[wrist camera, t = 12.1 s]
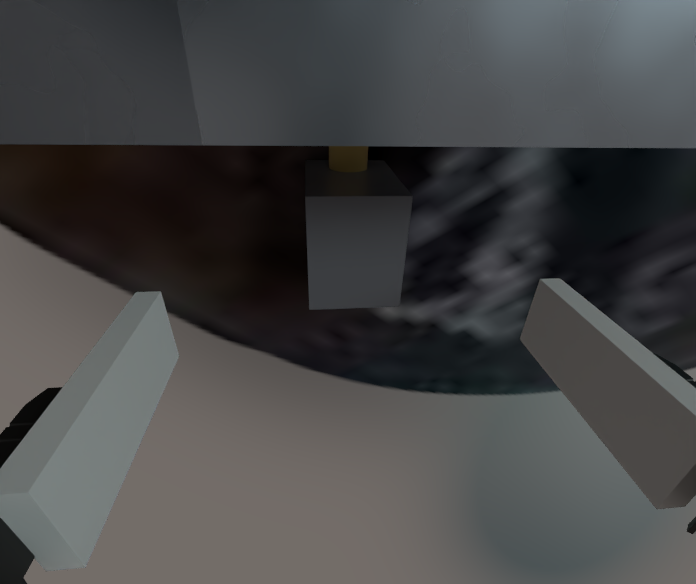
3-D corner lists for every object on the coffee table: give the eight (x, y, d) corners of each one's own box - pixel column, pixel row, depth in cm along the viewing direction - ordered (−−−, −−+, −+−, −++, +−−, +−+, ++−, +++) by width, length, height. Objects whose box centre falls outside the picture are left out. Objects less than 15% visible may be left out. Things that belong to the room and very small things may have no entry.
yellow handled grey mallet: (288, -330, 11) (271, -681, 6) (419, -313, 11) (512, -624, 6) (308, 250, 21) (309, 309, 16) (377, 248, 21) (399, 306, 16)
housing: (66, -74, 13) (-748, -543, 3) (586, -43, 15) (1165, -265, 5) (115, 101, 16) (-209, 162, 6) (544, 108, 18) (851, 163, 8)
